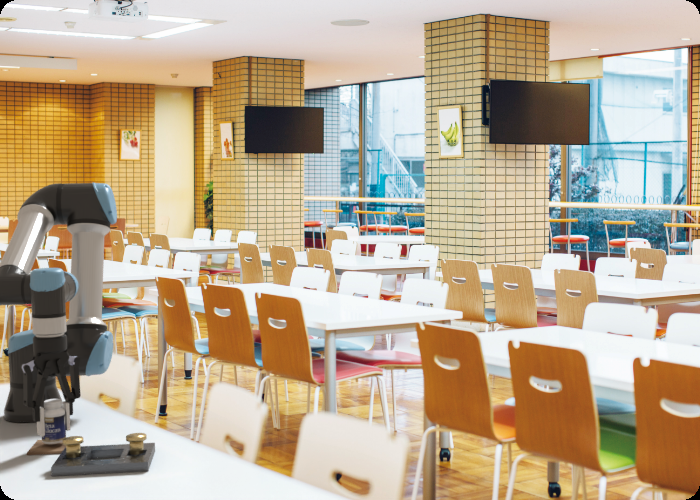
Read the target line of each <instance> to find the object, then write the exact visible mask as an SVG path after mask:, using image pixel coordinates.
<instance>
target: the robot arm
mask: <svg viewBox="0 0 700 500" xmlns="http://www.w3.org/2000/svg"><path fill="white" fill-rule="evenodd" d="M114 195H115V194H114V192H113V189H112V187H111V186H110V185H109V184H108V183H104V182H101V183H100V182H93V181H92V182H81V183H79V182H76V183H74V182H73V183H66V182H65V183H60V182H58V183H52V184H49V185H46V186H44V187H43V186H42V187H41V188H39V189H37V191H35V192H33V193H32V194H31V195H30V196H28V197H27V199H25V200H24V201H23V203H22V205H21V206H20V208H19V210H18V212H17V224H16V227H15V229H14V231H13V234H12V236H11V238H10V240H9V242H8V245H7V246H6V250H5V251H4V254H3V256H2V259H1V260H0V306H12V305H13V306H15V305H19V306H20V305H31V306H30V307H31V324H32V328H31V329H28V330H23V331H20V332H16V333H14V334H12V335H11V336H10V337H9V338H8V344H7V345H8V349H7V350H8V351H7V355H8V373H9V392H8V395H7V398H6V402H5V405H4V406H5V407H4V410H3V415H4V416H3V417H4V420H6V421H7V422H11V423H33V422H34V423H36V431H37V433H36V434H37V435H38V436H40V437H42V436H45V423H44V410H45V408H44V401H45V400H48V399H61V400H62V406H61V408H63V409H64V410H65V424H66V432H68V431H71V416H73V414H74V403H75V401H76V400H77V399H80V398H81V382H80V376H84V377H85V376H86V377H90V376H97V375H98V376H100V375H104V374H105V373H106V372H107V371H108V369H109V367H110V364H111V362H112V358H113V352H114V335H113V333H112V332H111V331H109V330H108V324H106V323H105V322H104V321H103V319H102V318H103V317H102V316H103V292H104V291H103V289H104V259H105V258H104V257H105V255H104V253H105V237H106V235H108V234H109V233H110V231H111V225H115V224H116V223H117V219H118V212H117V203H116V199H115V196H114ZM58 225H64V226H65V225H66V230H67V231H68V233H70V234H71V235H72V238H71V261H70V262H71V263H70V272H68V271H64V270H63V269H62V268H60V267H42V268H41V267H40V268H34V269H32V268H33V266H34V263H35V261H36V258H37V256H38V254H39V251H40V249H41V246H42V244H43V241H44V239H45V236H46V234H47V233H49V231H51V230H52V228H53V227H54V226H58ZM67 302H69V305H68V306H69V309H68V310H69V312H68V319H67V311H66V310H67V309H66V307H67V306H66V305H67V304H66V303H67ZM68 377H70V379H69V380H70V385H69V381H68ZM56 378H57V379H56ZM57 382H58V383H59V387H60V390H61V393H62V396H63V398H64V399H62V396H61V394H60V392H59V389H58V387H57ZM63 400H64V401H63Z"/></svg>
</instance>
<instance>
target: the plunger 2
mask: <svg viewBox="0 0 700 500" xmlns="http://www.w3.org/2000/svg"><path fill="white" fill-rule="evenodd" d="M146 440H147V433H145V432H134V433H133V432H132V433H129V434H127V435H126V436H125V441H126V442H128V444H130V454H132V455H137V454H142V453H143V452H144V444H143V443H144V441H146Z"/></svg>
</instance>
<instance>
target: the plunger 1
mask: <svg viewBox="0 0 700 500" xmlns="http://www.w3.org/2000/svg"><path fill="white" fill-rule="evenodd" d="M84 441H85V440H84V436H81V435H71V436H66V438H64V439H63V440H62V444H63V445H66V457H67V458H76V457H79V456H81V449H80V446H81V444H83V443H84Z"/></svg>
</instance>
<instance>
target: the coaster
mask: <svg viewBox="0 0 700 500" xmlns="http://www.w3.org/2000/svg"><path fill="white" fill-rule="evenodd" d="M65 447H66V445H63V444H62V442H61V443H57V444H45V443H43V442H42V439H37V440H36V441H35V442H34V443H33V444H32V446H31V447H30V448H29V449H28V451H27V452H26V456H38V455H40V456H41V455H42V456H43V455H54V454H55V455H60V454H61V453H62V451H63V450H64V448H65Z"/></svg>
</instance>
